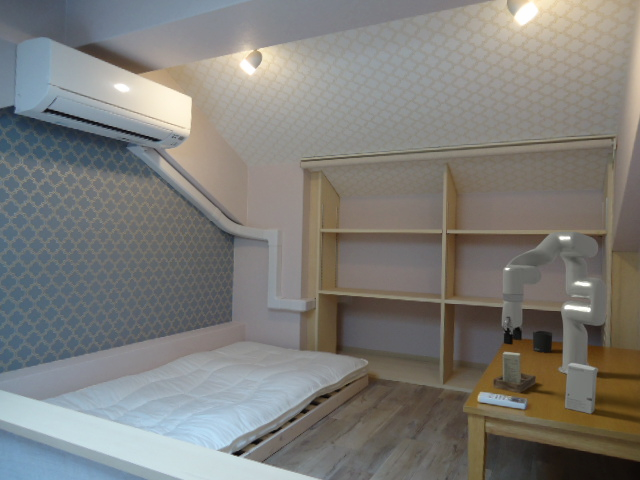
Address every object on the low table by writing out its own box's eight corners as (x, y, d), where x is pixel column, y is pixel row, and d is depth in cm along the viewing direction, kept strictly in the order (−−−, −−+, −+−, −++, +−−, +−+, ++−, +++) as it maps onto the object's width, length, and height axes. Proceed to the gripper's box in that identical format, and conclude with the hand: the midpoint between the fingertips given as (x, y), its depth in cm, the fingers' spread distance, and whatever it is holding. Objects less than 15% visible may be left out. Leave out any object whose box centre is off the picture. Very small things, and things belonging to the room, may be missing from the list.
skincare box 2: (564, 408, 160) (565, 364, 160) (569, 404, 165) (569, 361, 165) (592, 414, 155) (593, 369, 155) (596, 410, 159) (597, 366, 159)
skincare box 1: (521, 384, 183) (521, 353, 183) (519, 387, 179) (520, 355, 179) (503, 381, 186) (504, 351, 186) (502, 384, 182) (502, 353, 183)
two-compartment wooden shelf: (535, 383, 189) (535, 375, 189) (519, 393, 176) (520, 385, 176) (510, 378, 196) (510, 371, 196) (493, 387, 182) (493, 379, 183)
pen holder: (530, 348, 256) (530, 330, 256) (548, 349, 255) (548, 331, 255) (535, 352, 247) (536, 333, 247) (554, 353, 245) (555, 334, 245)
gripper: (511, 295, 192) (511, 337, 192) (495, 299, 179) (494, 344, 179) (530, 296, 187) (530, 339, 187) (515, 301, 174) (514, 347, 174)
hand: (512, 341), depth 183 cm, fingers open, 9 cm apart
